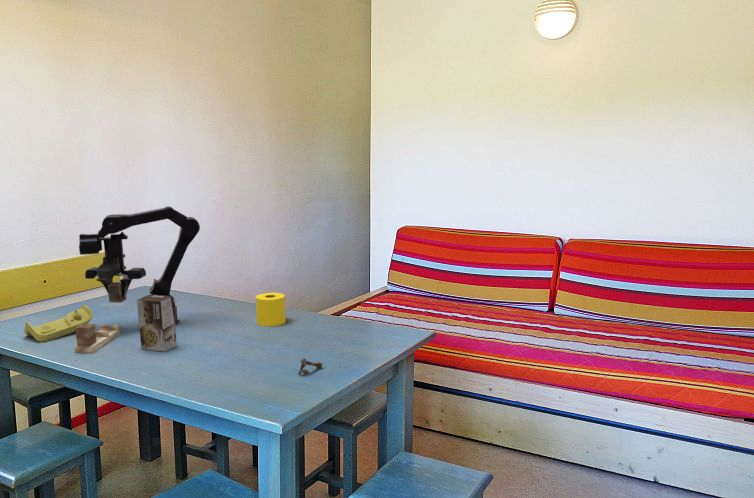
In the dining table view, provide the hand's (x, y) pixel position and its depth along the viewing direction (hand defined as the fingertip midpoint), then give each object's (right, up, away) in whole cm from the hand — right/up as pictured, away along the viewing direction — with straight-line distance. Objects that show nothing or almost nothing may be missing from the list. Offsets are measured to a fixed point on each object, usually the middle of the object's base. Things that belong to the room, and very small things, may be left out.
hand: (117, 297), depth 213 cm
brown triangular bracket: (+70, -18, -38) cm, 81 cm away
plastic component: (-18, -12, -2) cm, 22 cm away
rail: (-1, -14, -13) cm, 19 cm away
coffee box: (+20, -14, -17) cm, 30 cm away
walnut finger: (0, -1, 0) cm, 1 cm away
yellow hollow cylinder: (+51, -9, +9) cm, 52 cm away
